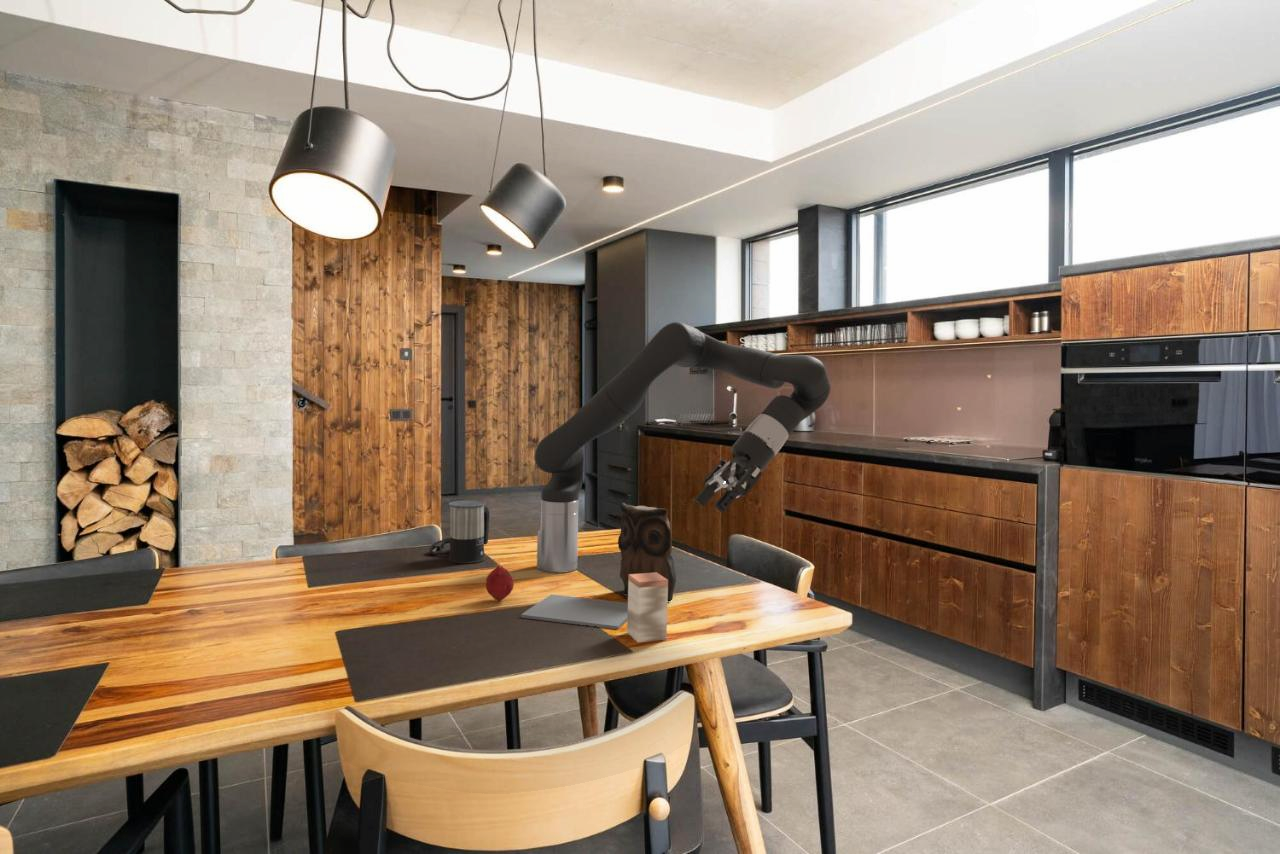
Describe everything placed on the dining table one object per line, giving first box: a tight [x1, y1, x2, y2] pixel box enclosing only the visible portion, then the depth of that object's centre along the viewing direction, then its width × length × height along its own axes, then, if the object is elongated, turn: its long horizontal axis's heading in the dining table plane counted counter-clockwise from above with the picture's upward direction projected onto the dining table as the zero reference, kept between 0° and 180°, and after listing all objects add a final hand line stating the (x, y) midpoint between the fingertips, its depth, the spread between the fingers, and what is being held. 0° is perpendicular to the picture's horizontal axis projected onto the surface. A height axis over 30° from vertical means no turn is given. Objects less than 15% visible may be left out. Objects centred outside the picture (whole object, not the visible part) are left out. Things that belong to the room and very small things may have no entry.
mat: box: [520, 594, 628, 630], centre depth 150 cm, size 20×15×1 cm
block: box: [626, 572, 668, 643], centre depth 137 cm, size 6×6×11 cm
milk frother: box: [428, 499, 490, 564], centre depth 194 cm, size 14×16×15 cm
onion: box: [484, 562, 515, 602], centre depth 156 cm, size 6×6×8 cm
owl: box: [617, 502, 677, 601], centre depth 163 cm, size 13×13×20 cm
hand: (708, 506), depth 141 cm, fingers open, 8 cm apart
